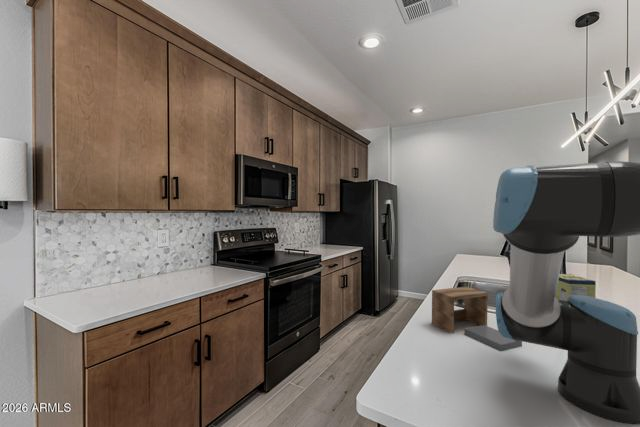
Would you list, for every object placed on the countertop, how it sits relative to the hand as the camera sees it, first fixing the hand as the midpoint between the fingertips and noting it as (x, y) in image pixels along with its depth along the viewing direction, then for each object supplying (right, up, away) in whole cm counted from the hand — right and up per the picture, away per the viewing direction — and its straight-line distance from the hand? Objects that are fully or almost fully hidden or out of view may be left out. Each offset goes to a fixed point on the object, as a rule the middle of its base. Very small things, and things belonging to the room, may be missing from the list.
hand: (526, 307), depth 92 cm
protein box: (+50, -16, +43) cm, 68 cm away
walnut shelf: (-10, -15, +23) cm, 29 cm away
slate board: (-5, -15, +11) cm, 19 cm away
